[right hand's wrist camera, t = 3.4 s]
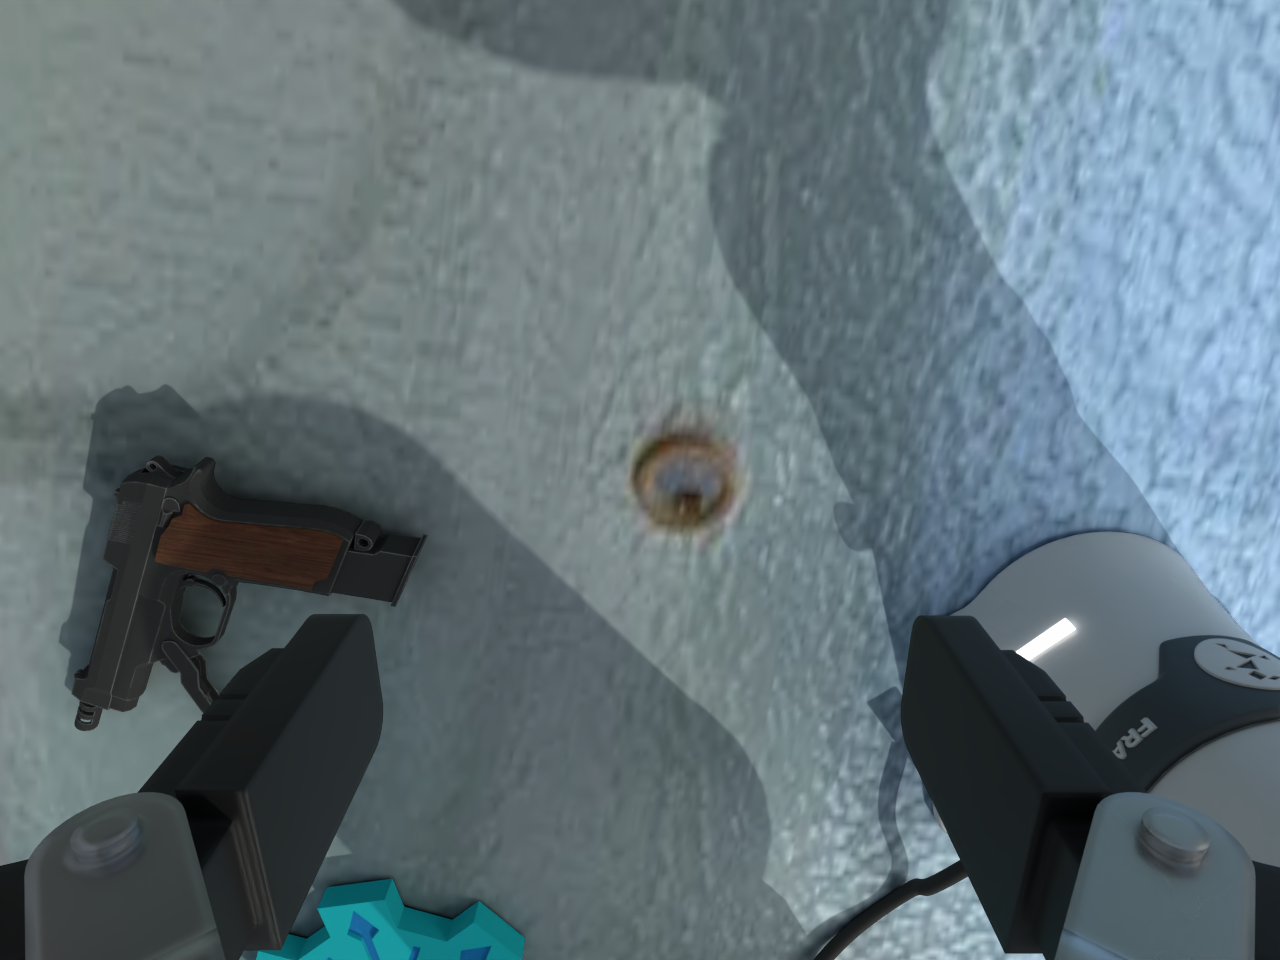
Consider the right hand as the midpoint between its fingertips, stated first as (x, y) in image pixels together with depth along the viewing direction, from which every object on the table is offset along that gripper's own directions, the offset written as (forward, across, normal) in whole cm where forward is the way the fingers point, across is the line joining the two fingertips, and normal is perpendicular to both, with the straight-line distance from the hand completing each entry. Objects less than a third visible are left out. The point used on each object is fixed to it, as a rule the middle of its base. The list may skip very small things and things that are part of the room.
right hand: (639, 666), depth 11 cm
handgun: (+29, +23, +17) cm, 41 cm away
